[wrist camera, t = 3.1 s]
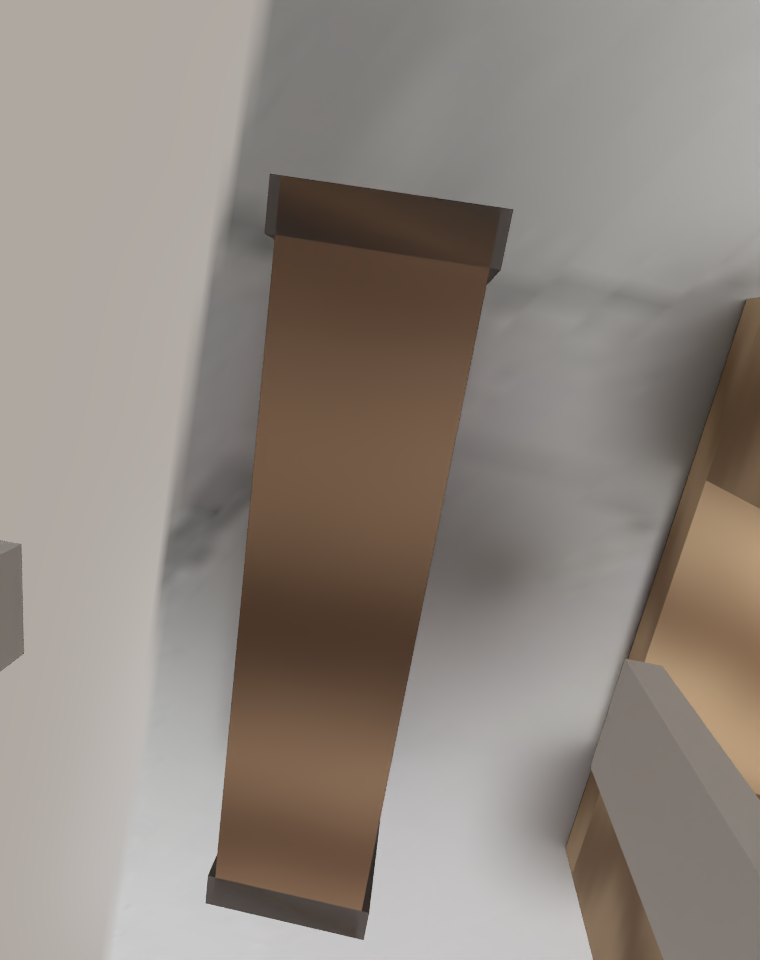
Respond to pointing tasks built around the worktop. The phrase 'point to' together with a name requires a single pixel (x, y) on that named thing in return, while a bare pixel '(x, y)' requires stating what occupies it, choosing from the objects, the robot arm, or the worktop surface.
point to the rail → (342, 530)
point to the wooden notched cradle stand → (693, 636)
